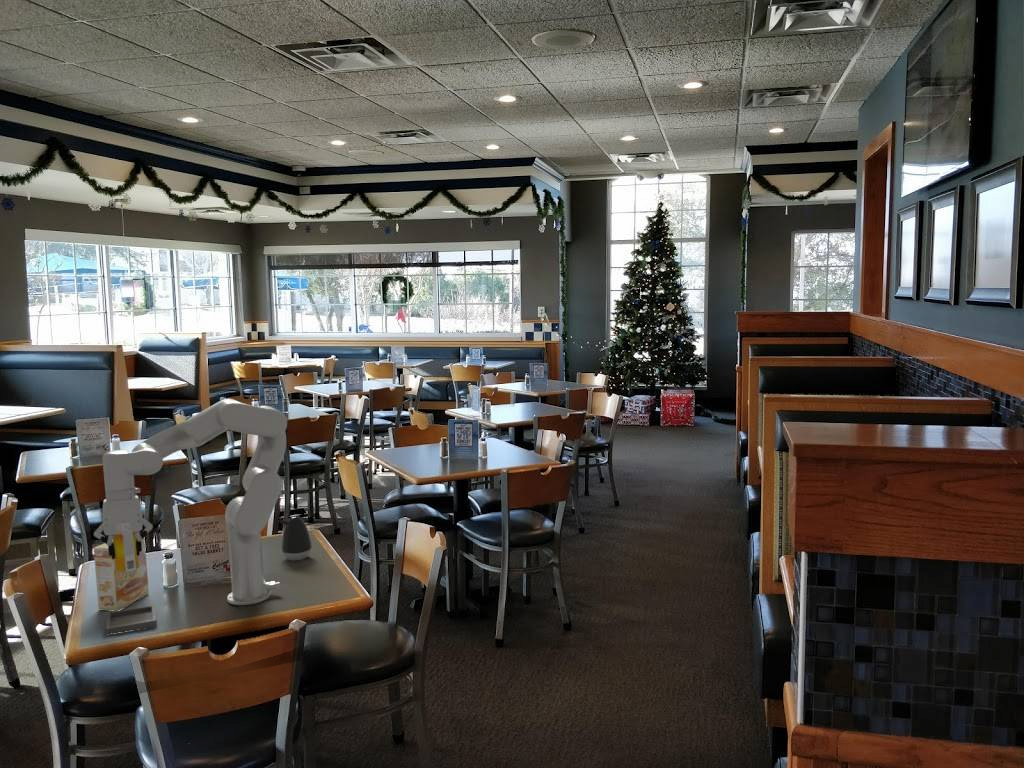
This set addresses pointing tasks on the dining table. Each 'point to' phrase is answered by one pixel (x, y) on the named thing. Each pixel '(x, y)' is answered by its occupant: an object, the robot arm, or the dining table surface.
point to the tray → (131, 619)
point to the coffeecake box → (118, 580)
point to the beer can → (125, 549)
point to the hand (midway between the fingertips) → (125, 555)
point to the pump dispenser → (295, 539)
